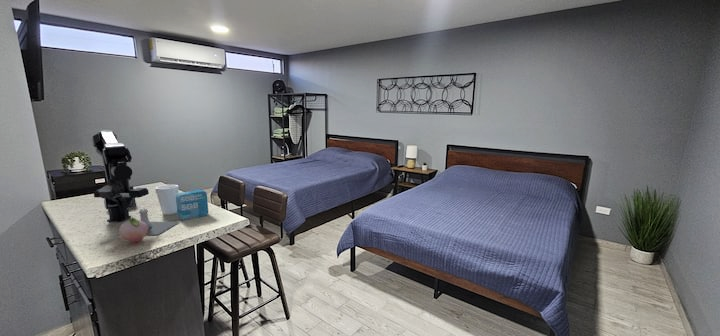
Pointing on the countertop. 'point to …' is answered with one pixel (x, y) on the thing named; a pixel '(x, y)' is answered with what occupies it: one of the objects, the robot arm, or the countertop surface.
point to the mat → (160, 227)
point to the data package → (192, 204)
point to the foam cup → (167, 198)
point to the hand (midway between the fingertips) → (124, 212)
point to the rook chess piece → (145, 217)
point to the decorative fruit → (133, 230)
